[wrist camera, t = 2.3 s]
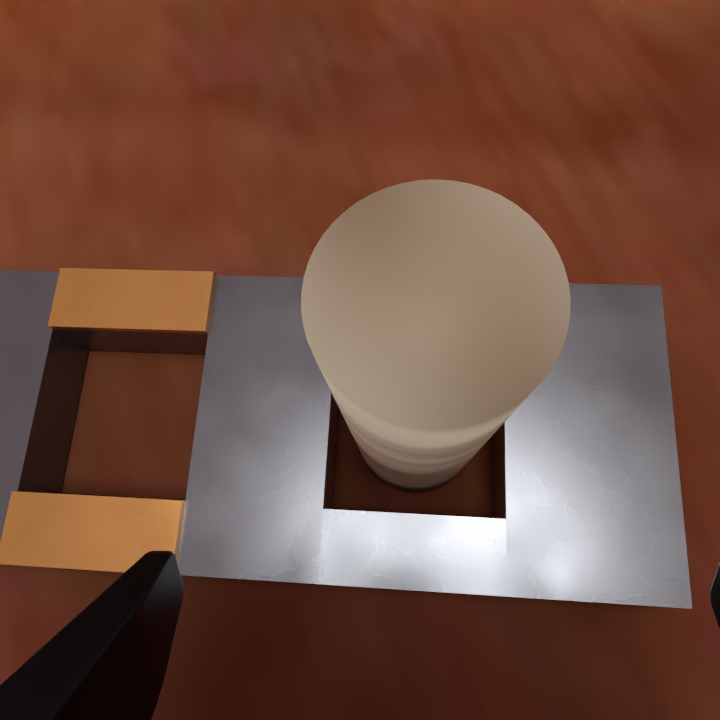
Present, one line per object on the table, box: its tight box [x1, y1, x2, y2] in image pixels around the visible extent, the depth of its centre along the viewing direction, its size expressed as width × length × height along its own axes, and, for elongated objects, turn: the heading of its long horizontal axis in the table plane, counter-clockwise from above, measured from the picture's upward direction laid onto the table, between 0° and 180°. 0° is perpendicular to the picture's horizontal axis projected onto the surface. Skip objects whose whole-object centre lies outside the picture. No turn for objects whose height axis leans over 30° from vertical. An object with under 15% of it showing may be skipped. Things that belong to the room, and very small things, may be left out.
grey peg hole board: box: [0, 268, 692, 609], centre depth 20 cm, size 26×10×3 cm, turn 87°
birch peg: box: [301, 180, 571, 493], centre depth 15 cm, size 4×4×13 cm
